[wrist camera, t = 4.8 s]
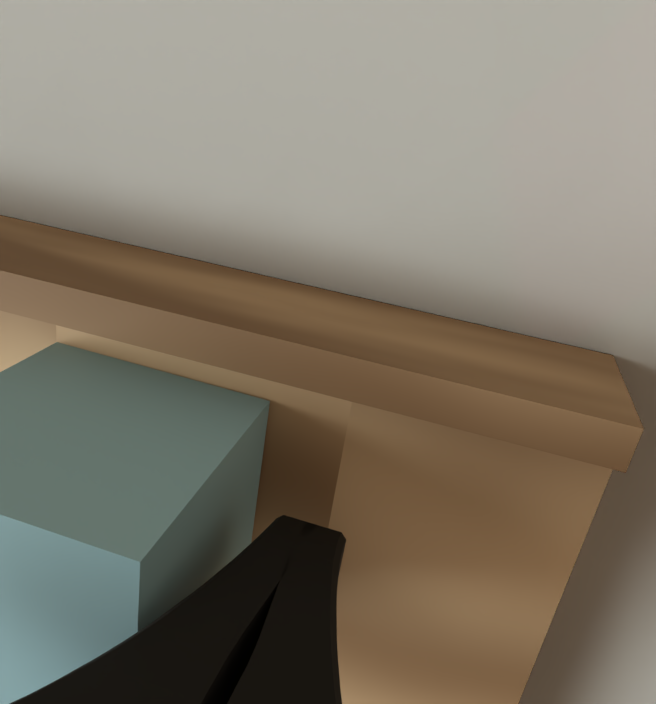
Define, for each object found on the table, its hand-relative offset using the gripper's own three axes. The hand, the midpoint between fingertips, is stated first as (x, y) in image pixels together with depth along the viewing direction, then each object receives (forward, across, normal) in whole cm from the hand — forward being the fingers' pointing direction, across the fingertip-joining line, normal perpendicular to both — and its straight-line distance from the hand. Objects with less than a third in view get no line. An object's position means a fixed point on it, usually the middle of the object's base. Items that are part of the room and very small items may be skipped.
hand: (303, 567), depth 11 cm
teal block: (+1, +4, 0) cm, 4 cm away
